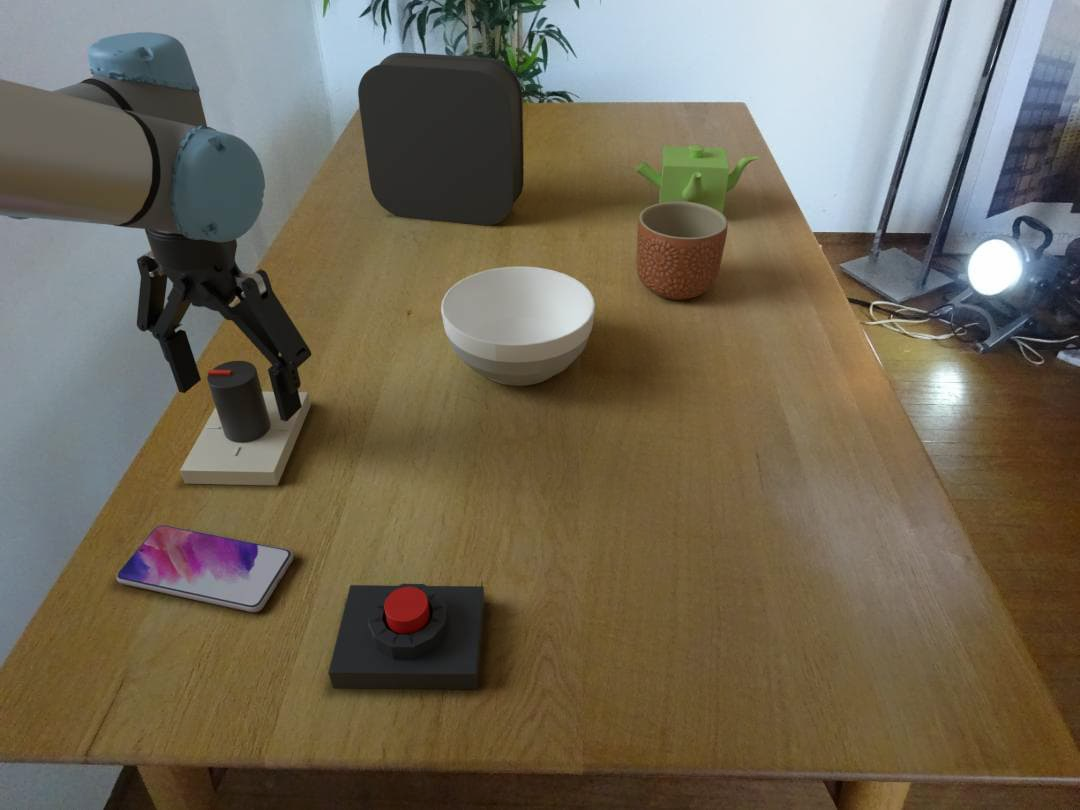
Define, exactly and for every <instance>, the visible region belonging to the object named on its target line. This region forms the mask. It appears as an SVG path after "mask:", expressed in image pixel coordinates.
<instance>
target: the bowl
mask: <svg viewBox="0 0 1080 810" xmlns="http://www.w3.org/2000/svg"><path fill="white" fill-rule="evenodd" d="M595 312H596V302H595V298H594V296H593V295H592V292H591V290H590V289H589V288H588V287H587V286H586V285H584V283H582V282H581V281H579V280H578V279H576V278H574V277H572V276H570V275H568V274H566V273H563V272H560V271H556V270H553V269H548V268H543V267H537V266H504V267H496V268H491V269H486V270H482V271H479V272H477V273H474V274H471V275H469V276H467V277H465V278H462V279H461V280H459V281H458V282H456V283H455V284H453V285H452V286H451V287H450V288H449V289H448V291H447V292H446V293H445V294H444V297H443V298H442V300H441V305H440V313H441V317H442V323H443V327H444V332H445V334H446V336H447V339H448V341H449V344H450V346H451V348H452V350H453V351H454V353H455V355H456V356H457V357H458V358H459V359H460V360H461V361H462V362H463V363H464V364H465V365H466V366H467V367H469V368H470V369H471V370H472V371H474V372H475V373H476V374H479V375H480V376H483V377H484V378H487V379H489V380H490V381H493V382H495V383H497V384H501V385H505V386H514V387H523V386H531V385H532V386H533V385H535V384H539V383H542V382H544V381H547V380H549V379H551V378H552V377H553V376H556V375H558V374H560V373H561V372H563V371H564V370H567V368H568V367H569V366H570V365H572V363H574V361H575V360H576V359H577V358H578V357H579V356H580V355H581V354H582V353H583V351H584V349H585V347H586V346H587V344H588V341H589V339H590V335H591V332H592V330H593V327H594V326H593V324H594V321H595Z"/></svg>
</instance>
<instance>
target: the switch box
mask: <svg viewBox="0 0 1080 810" xmlns="http://www.w3.org/2000/svg"><path fill="white" fill-rule="evenodd" d="M402 587H415V588H418V589H420V590H422V591H423V592H424V593H425V594H426V596H427V599H428V605H429V613H430V616H429V620H428V622H427V624H426V625H425V626H424V627H423V628H422V629H421V630H419V631H417V632H415V633H412V634H399V633H396V632H394V631H393V630H392V629H390V627H389V626H388V624H387V620H386V615H385V609H384V604H385V601H386V599H387V597H388V596H389V595H390V594H391V593H392V592H393V591H395V590H397V589H399V588H402ZM485 604H486V603H485V587H484V586H483V585H482V586H479V585H477V586H476V585H469V586H468V585H426V584H425V583H401V584H398V585H384V584H383V585H379V584H377V585H375V584H374V585H373V584H372V585H371V584H370V585H369V584H368V585H367V584H363V585H362V584H360V585H359V584H350V585H349V588H348V593H347V596H346V600H345V605H344V609H343V612H342V617H341V621H340V625H339V629H338V633H337V637H336V641H335V644H334V649H333V653H332V656H331V660H330V664H329V669H328V676H329V680H330V683H331V686H332V689H391V690H392V689H394V690H395V689H396V690H397V689H398V690H399V689H402V690H403V689H404V690H405V689H406V690H408V689H409V690H415V689H416V690H478V687H479V675H480V663H481V652H482V651H481V649H482V641H483V640H482V639H483V629H484V627H483V626H484V615H485Z"/></svg>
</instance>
